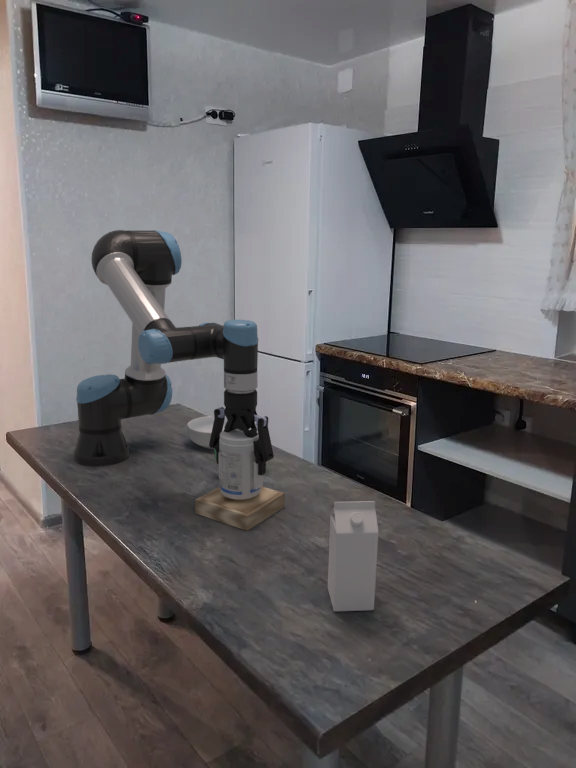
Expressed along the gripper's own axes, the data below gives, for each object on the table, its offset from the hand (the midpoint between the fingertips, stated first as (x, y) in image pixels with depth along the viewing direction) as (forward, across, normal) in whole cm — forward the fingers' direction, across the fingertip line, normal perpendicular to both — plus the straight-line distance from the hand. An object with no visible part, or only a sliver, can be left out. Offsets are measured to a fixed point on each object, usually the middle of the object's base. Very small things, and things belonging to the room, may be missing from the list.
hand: (240, 482), depth 141 cm
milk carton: (+7, +38, -18) cm, 43 cm away
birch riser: (+7, 0, 0) cm, 7 cm away
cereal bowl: (+7, -34, +32) cm, 47 cm away
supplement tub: (+3, 0, 0) cm, 3 cm away
